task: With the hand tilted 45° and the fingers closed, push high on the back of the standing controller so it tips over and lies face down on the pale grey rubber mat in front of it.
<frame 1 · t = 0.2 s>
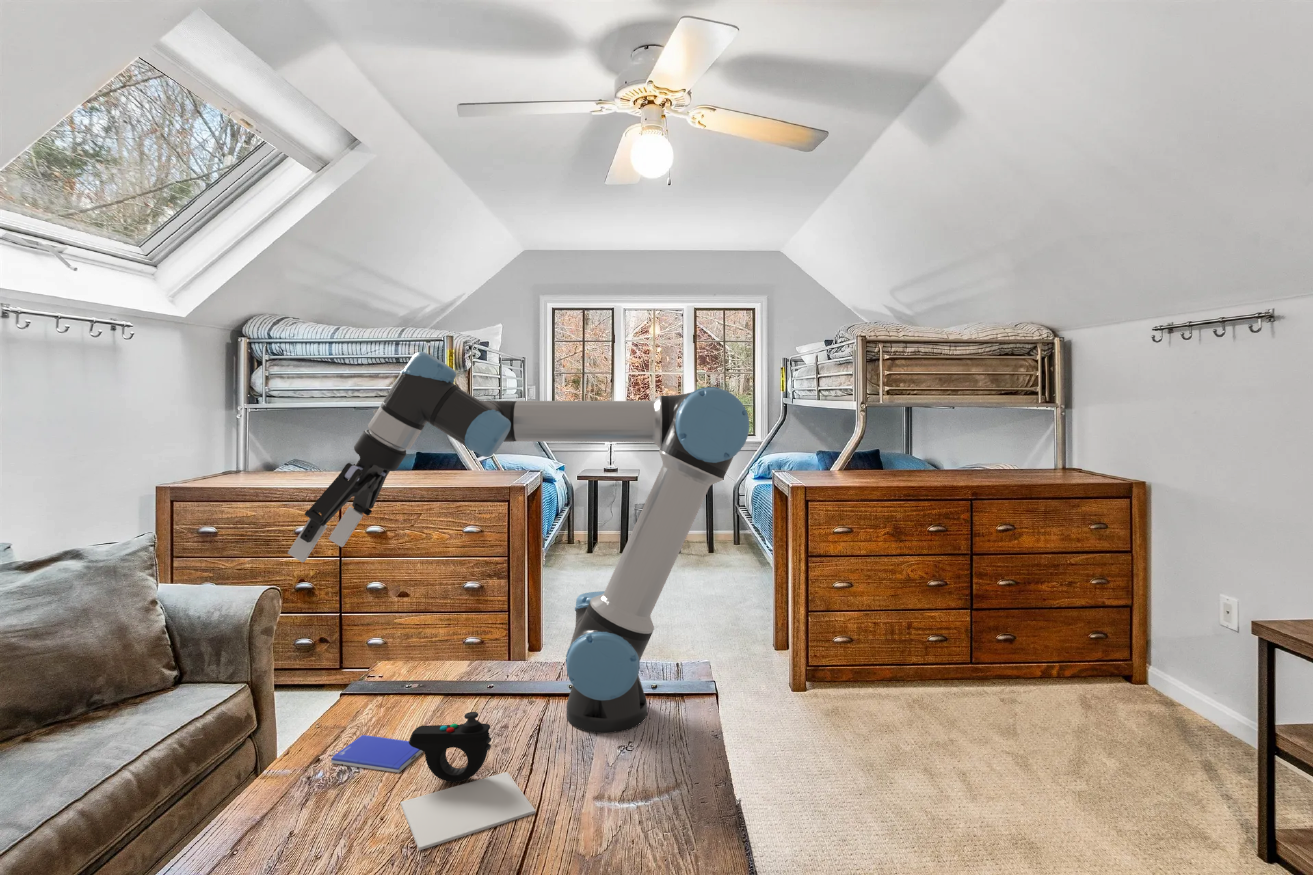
hand: (317, 549, 111), 34 cm above the table, tool tilted 30°, fingers open, 13 cm apart
grey mat: (467, 808, 98), on the table
controller: (451, 781, 105), on the table, touching grey mat
hard drive: (380, 759, 113), on the table
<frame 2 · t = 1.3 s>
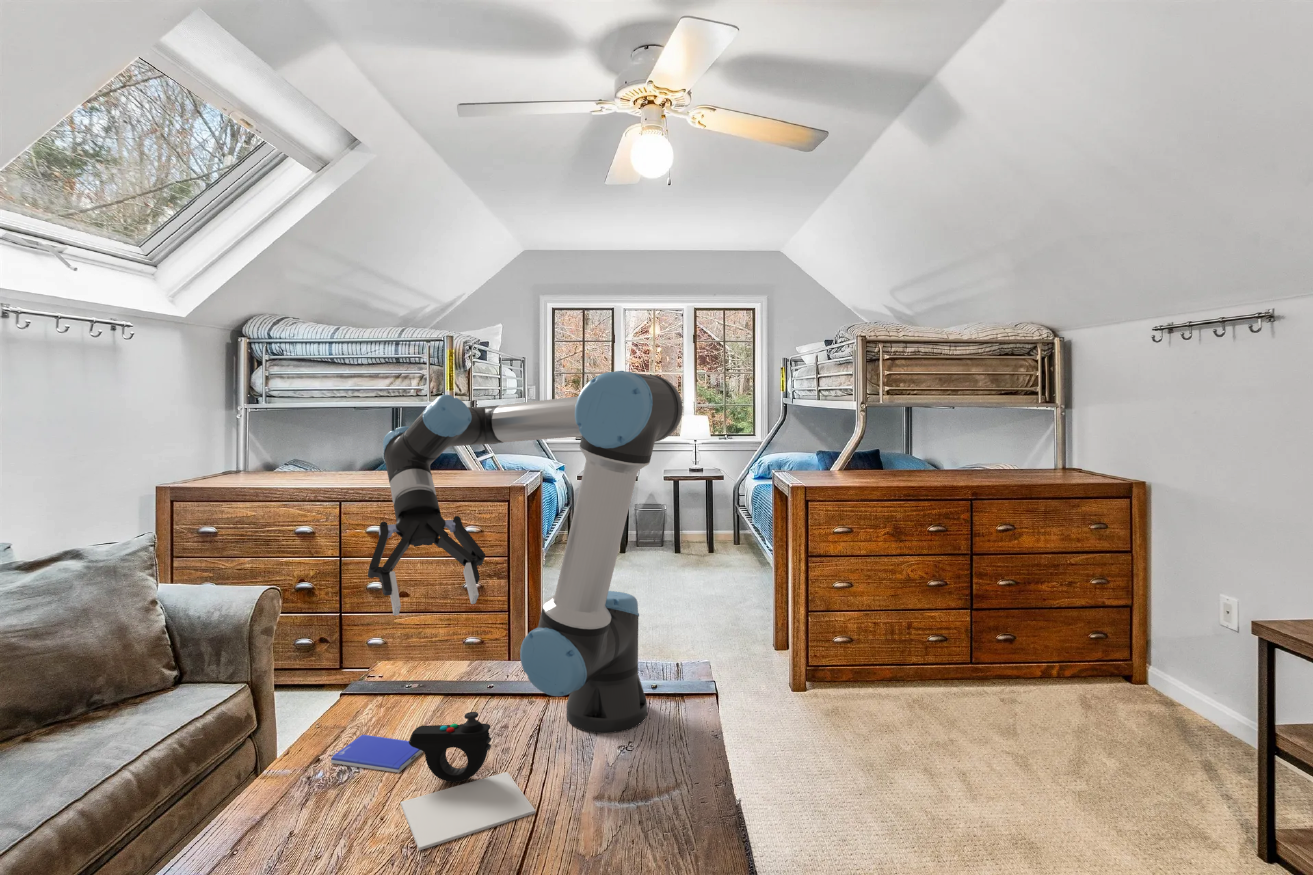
hand: (437, 605, 111), 25 cm above the table, tool tilted 45°, fingers open, 12 cm apart
nothing on the table moved.
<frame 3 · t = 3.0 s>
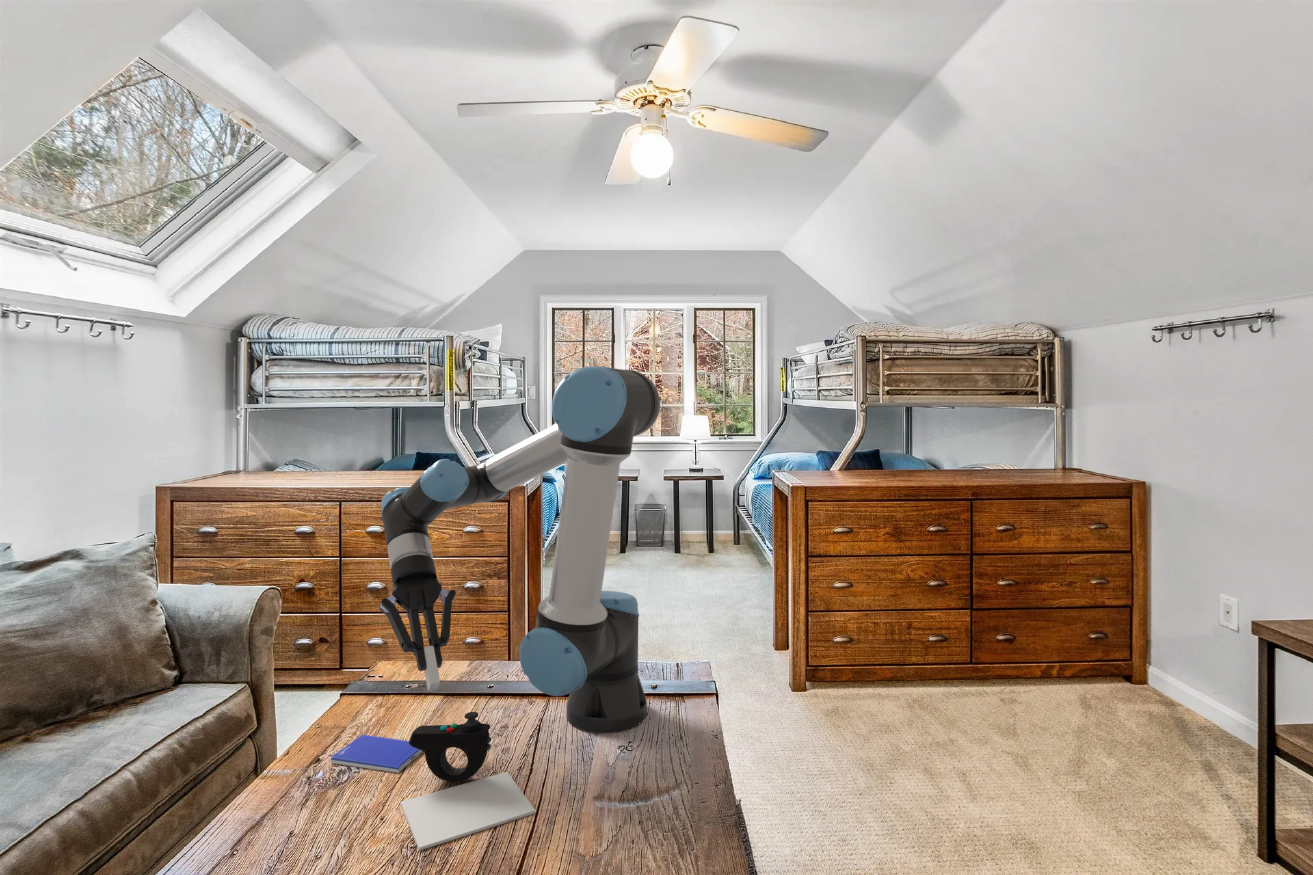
hand: (434, 686, 111), 12 cm above the table, tool tilted 45°, fingers closed
nothing on the table moved.
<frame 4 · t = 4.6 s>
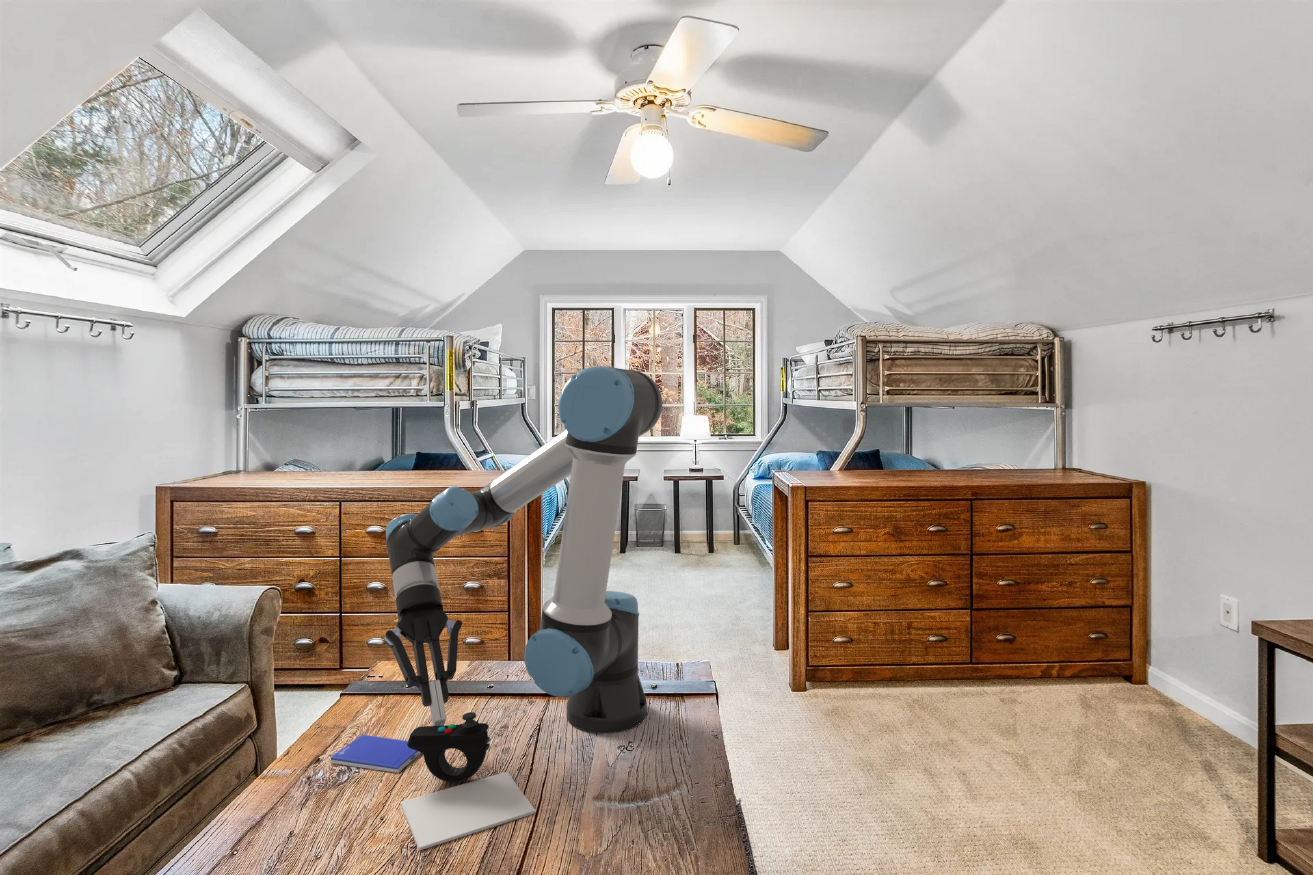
hand: (439, 723, 108), 8 cm above the table, tool tilted 45°, fingers closed
controller: (451, 780, 105), on the table, touching grey mat, gripper
everything else where it was.
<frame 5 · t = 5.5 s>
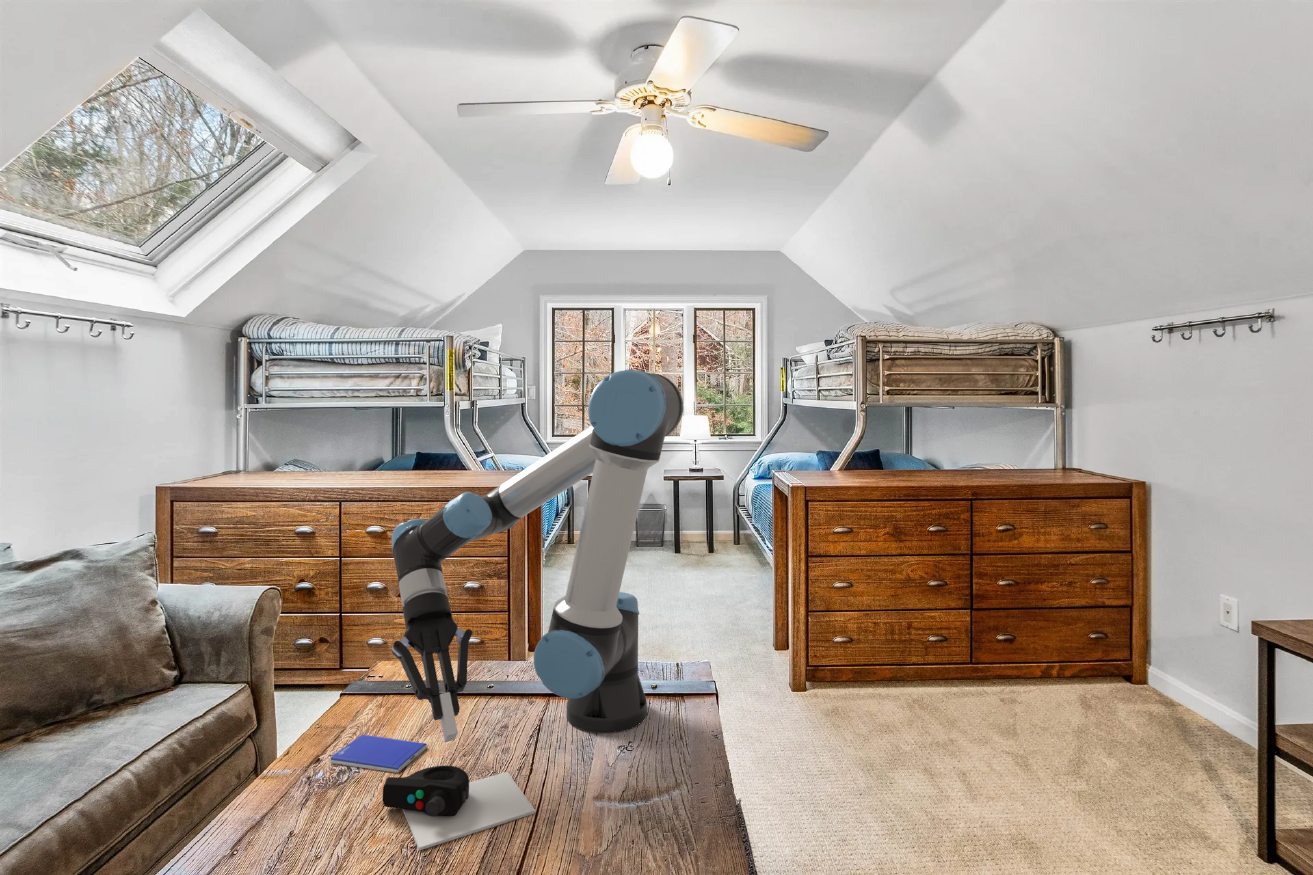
hand: (451, 737, 103), 8 cm above the table, tool tilted 45°, fingers closed
controller: (447, 773, 103), point 2 cm above the table, touching grey mat
everything else where it was.
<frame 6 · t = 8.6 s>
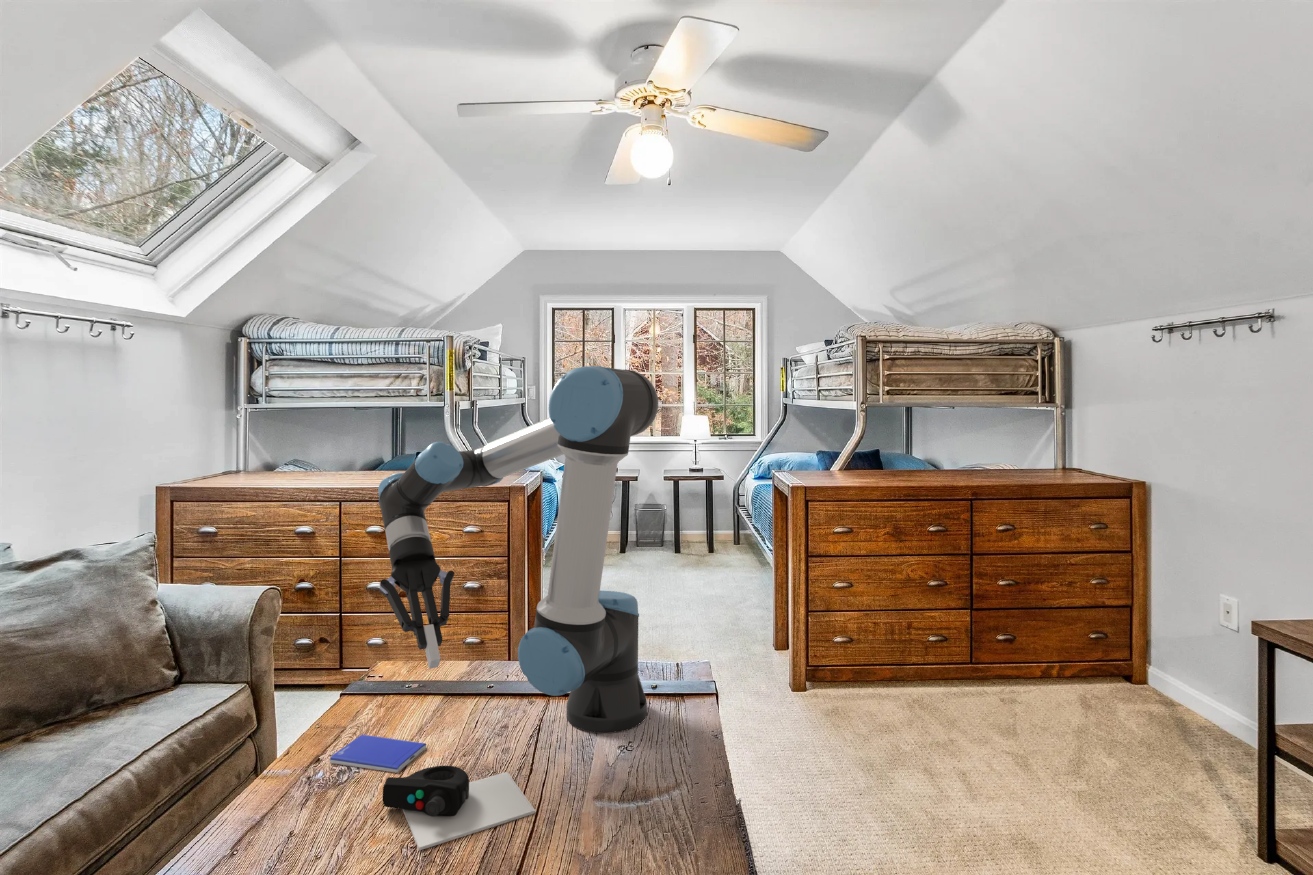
hand: (434, 663, 112), 15 cm above the table, tool tilted 45°, fingers closed
nothing on the table moved.
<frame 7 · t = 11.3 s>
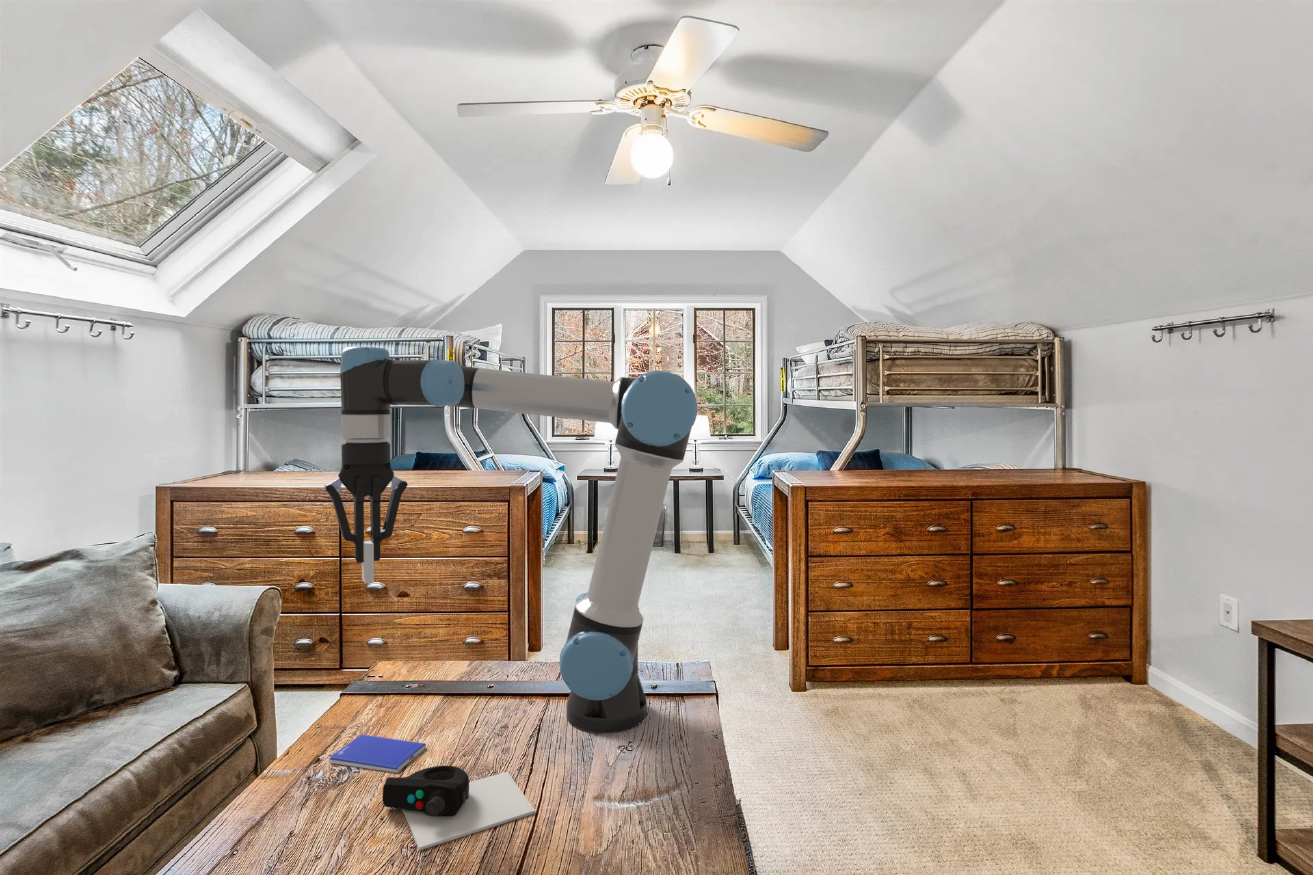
hand: (368, 580, 114), 28 cm above the table, tool pointing down, fingers closed
nothing on the table moved.
at the end: controller tilted 85°; controller inside the target area (6.9 cm from its centre), point 2.0 cm above the table; the gripper is holding nothing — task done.
